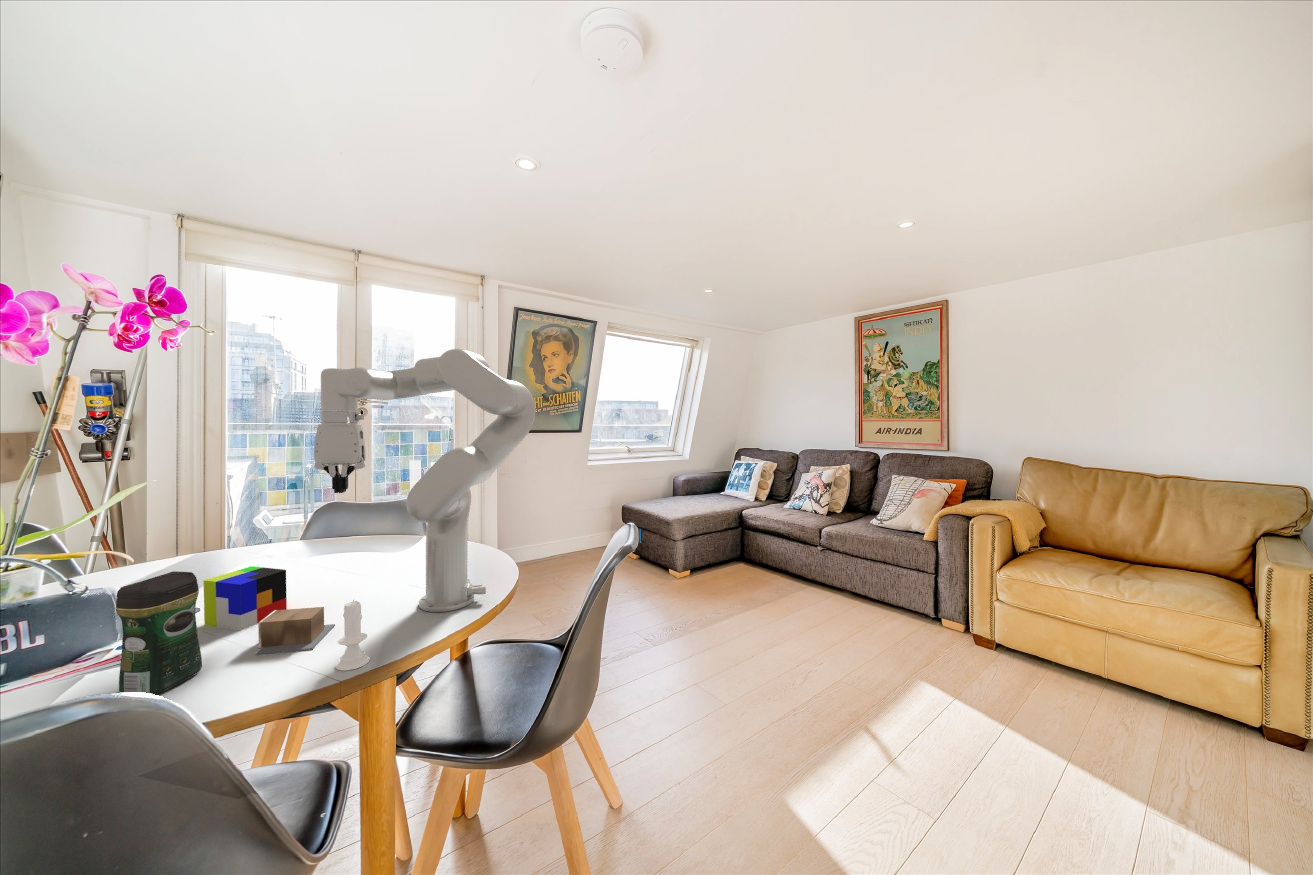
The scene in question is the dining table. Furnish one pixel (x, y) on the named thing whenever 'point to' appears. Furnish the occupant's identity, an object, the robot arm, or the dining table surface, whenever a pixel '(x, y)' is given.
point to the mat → (296, 646)
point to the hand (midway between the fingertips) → (340, 492)
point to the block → (291, 626)
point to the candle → (352, 639)
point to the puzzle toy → (244, 597)
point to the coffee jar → (158, 632)
